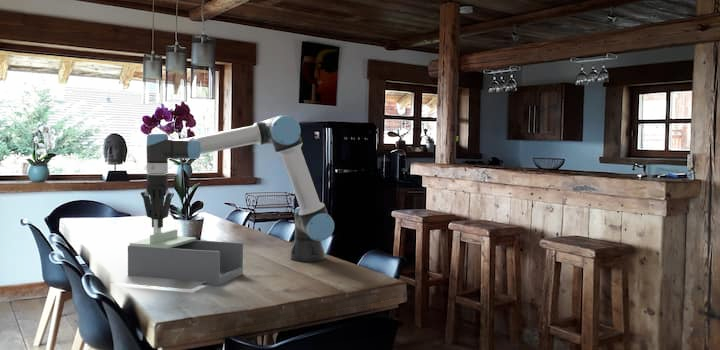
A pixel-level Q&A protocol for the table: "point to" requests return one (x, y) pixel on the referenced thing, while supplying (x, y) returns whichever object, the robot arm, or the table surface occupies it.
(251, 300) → the table surface
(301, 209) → the robot arm
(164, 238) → the cover
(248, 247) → the table surface
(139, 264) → the housing
